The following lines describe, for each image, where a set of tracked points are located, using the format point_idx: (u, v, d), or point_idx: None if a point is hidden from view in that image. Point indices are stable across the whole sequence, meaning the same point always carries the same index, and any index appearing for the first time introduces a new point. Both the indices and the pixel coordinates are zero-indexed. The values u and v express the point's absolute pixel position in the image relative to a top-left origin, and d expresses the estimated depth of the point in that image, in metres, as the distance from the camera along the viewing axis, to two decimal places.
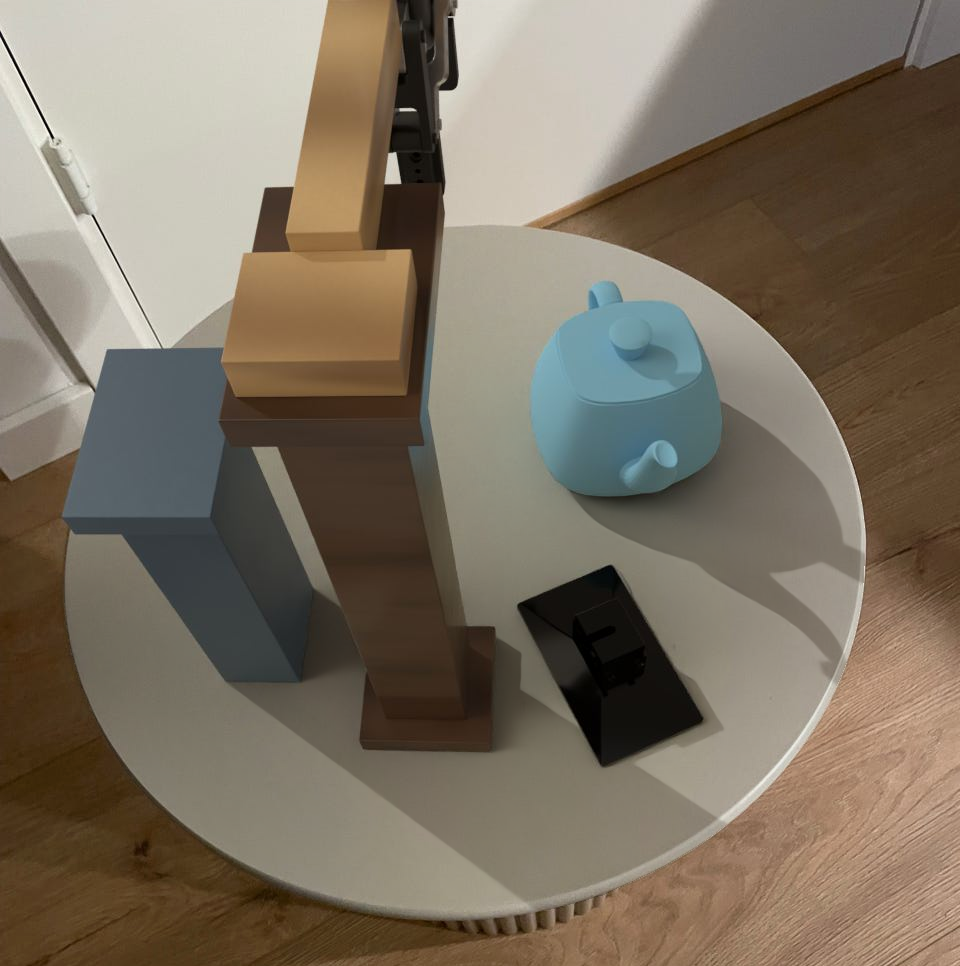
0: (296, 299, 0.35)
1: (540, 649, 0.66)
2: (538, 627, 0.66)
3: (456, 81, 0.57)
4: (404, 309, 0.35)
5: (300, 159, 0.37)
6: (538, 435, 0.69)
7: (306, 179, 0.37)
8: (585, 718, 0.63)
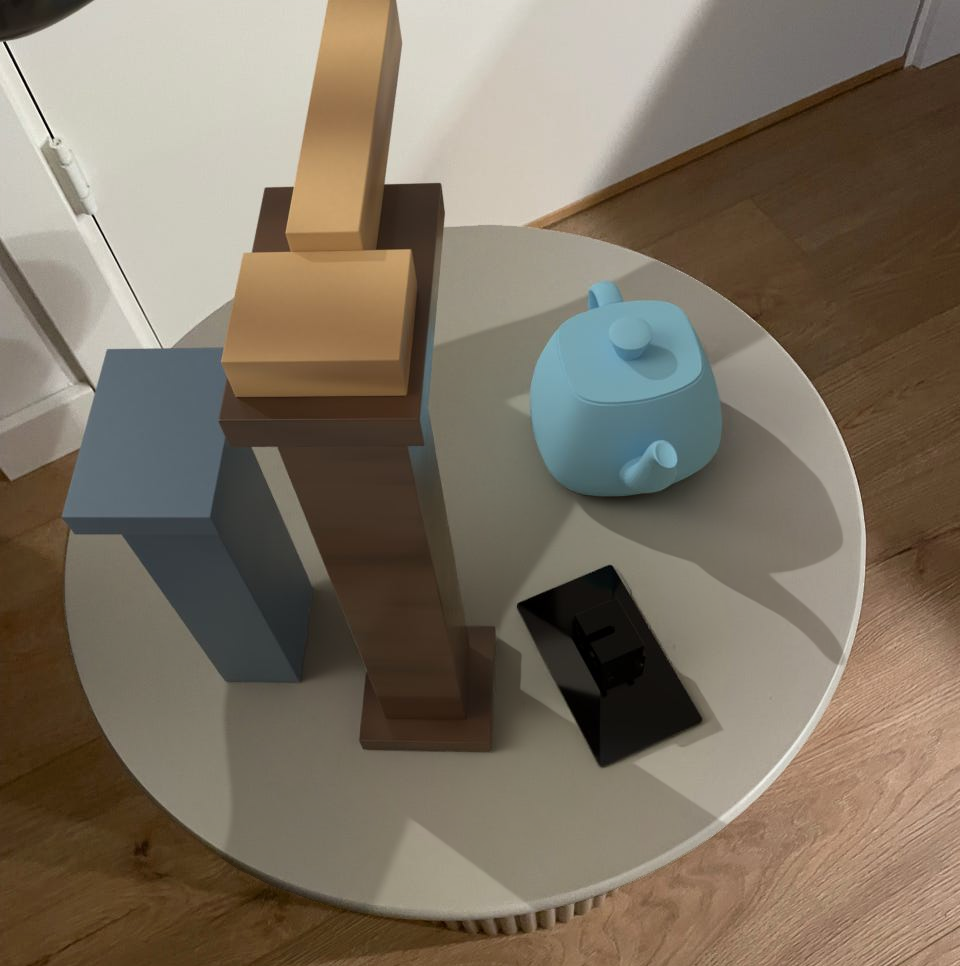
0: (296, 299, 0.35)
1: (539, 649, 0.66)
2: (537, 627, 0.66)
3: None
4: (404, 309, 0.35)
5: (300, 159, 0.37)
6: (538, 435, 0.69)
7: (306, 179, 0.37)
8: (584, 718, 0.63)
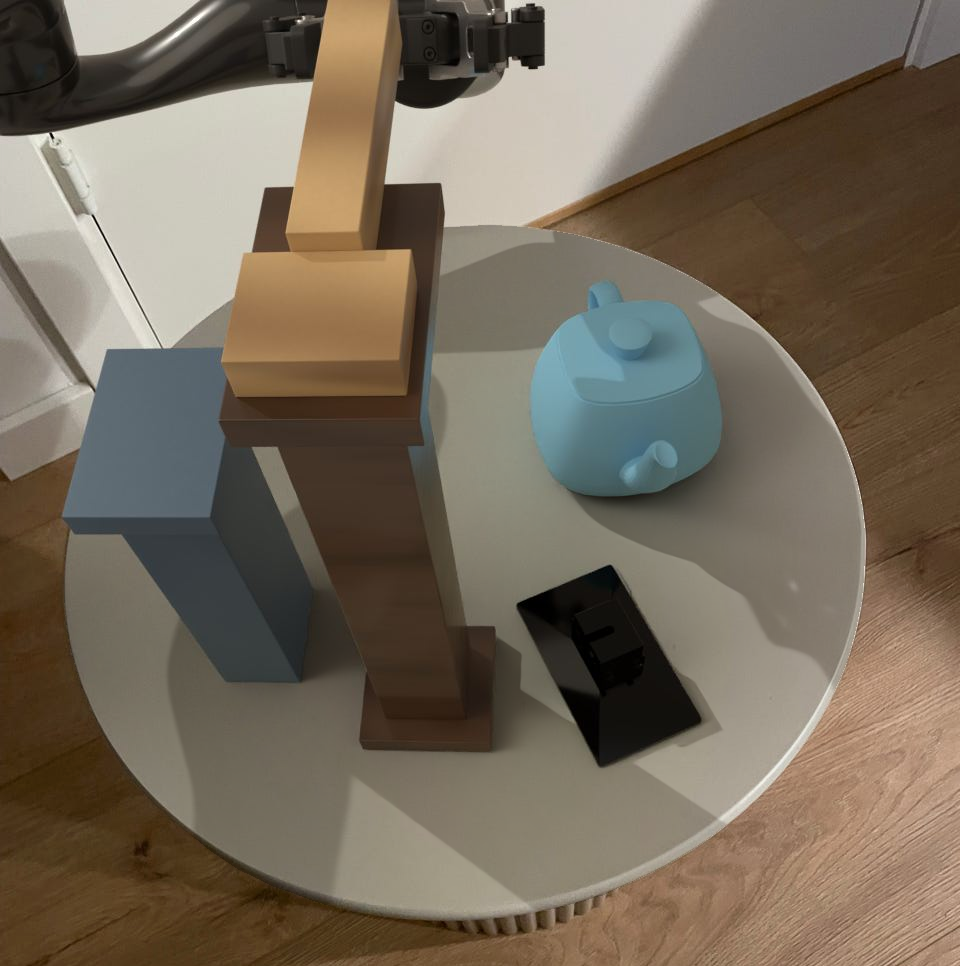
0: (296, 299, 0.35)
1: (539, 649, 0.66)
2: (537, 627, 0.66)
3: None
4: (404, 309, 0.35)
5: (300, 159, 0.37)
6: (538, 435, 0.69)
7: (306, 179, 0.37)
8: (583, 718, 0.63)
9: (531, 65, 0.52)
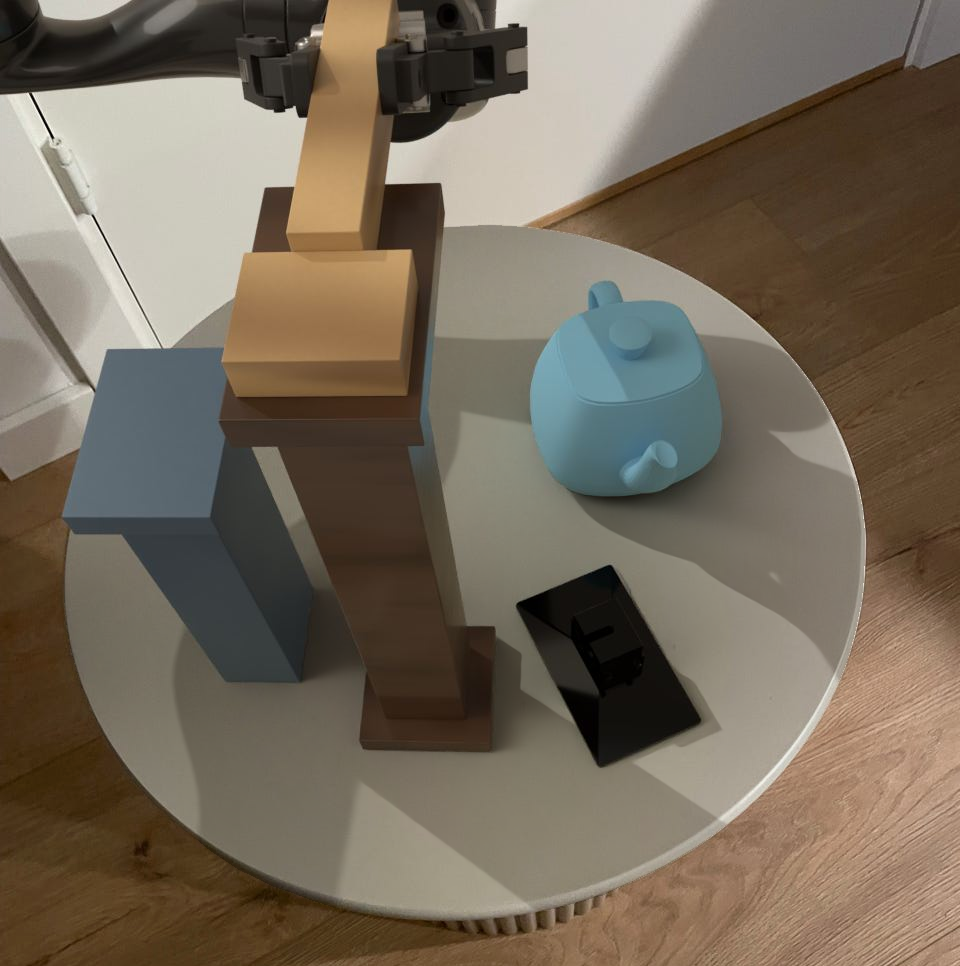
0: (297, 299, 0.35)
1: (538, 649, 0.66)
2: (536, 627, 0.66)
3: None
4: (405, 309, 0.35)
5: (301, 159, 0.37)
6: (538, 435, 0.69)
7: (307, 179, 0.37)
8: (583, 718, 0.63)
9: (451, 102, 0.43)
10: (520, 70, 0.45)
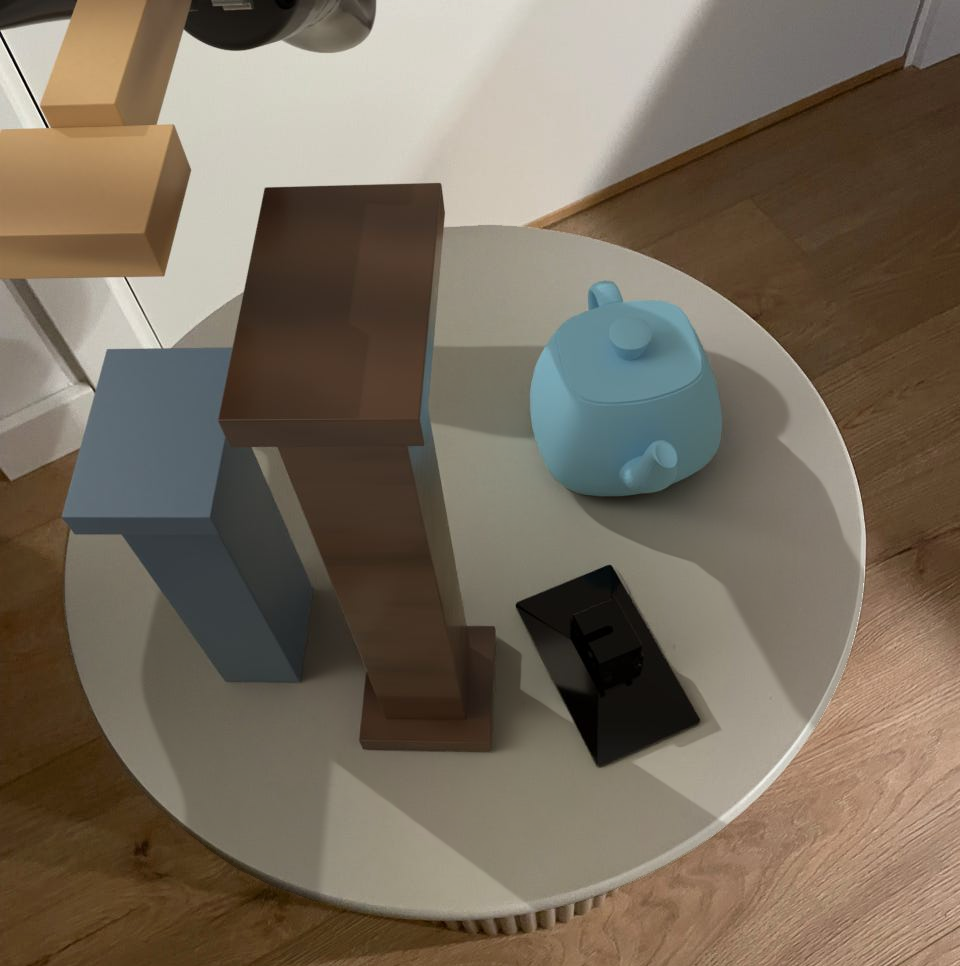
0: (48, 174, 0.33)
1: (538, 648, 0.66)
2: (536, 626, 0.66)
3: None
4: (157, 183, 0.33)
5: (66, 33, 0.35)
6: (538, 435, 0.69)
7: (70, 53, 0.35)
8: (582, 718, 0.63)
9: None
10: None
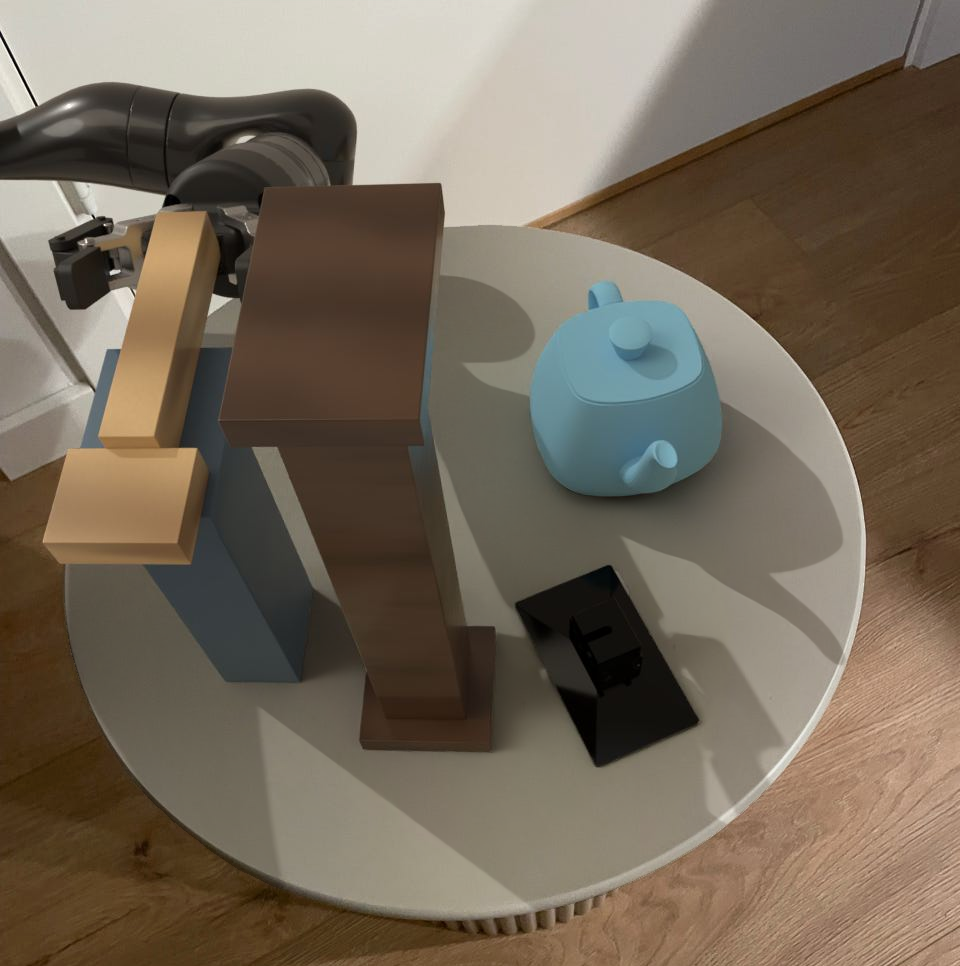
0: (105, 489, 0.45)
1: (537, 648, 0.66)
2: (535, 626, 0.66)
3: None
4: (186, 500, 0.45)
5: (116, 371, 0.47)
6: (538, 435, 0.69)
7: (119, 389, 0.47)
8: (581, 718, 0.63)
9: None
10: None
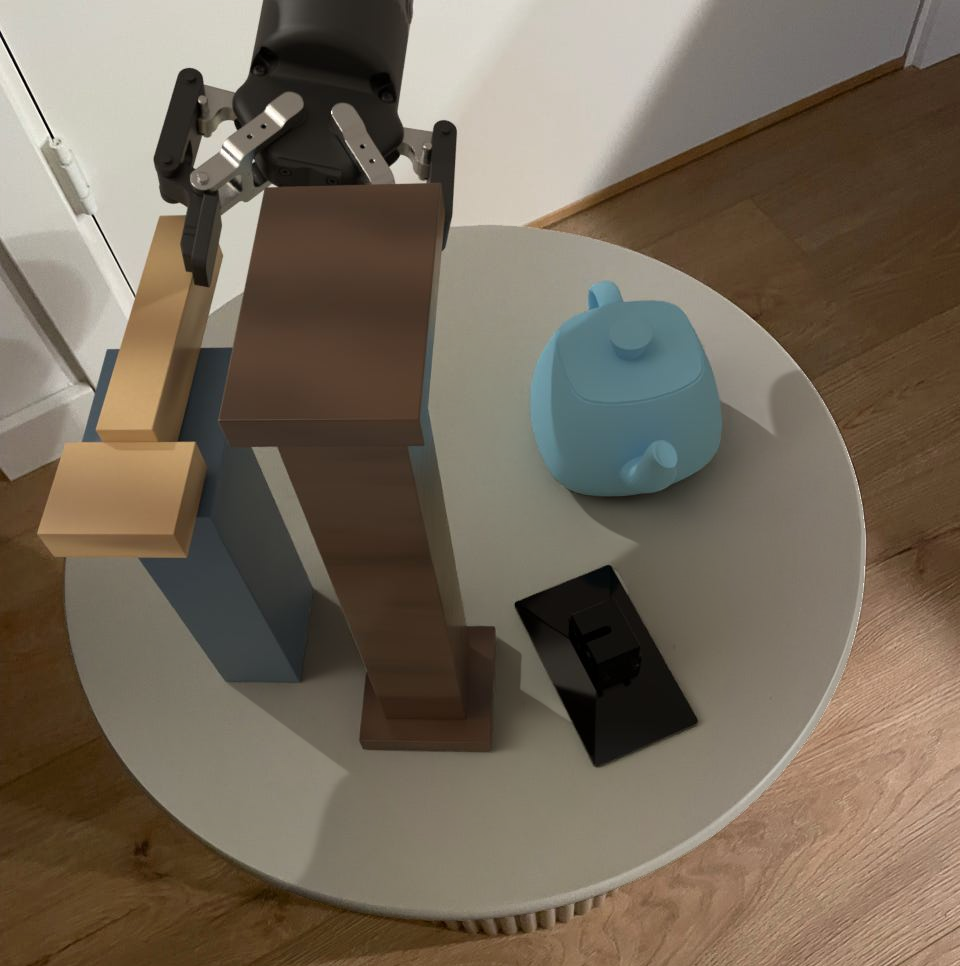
0: (101, 482, 0.45)
1: (536, 648, 0.66)
2: (534, 626, 0.66)
3: None
4: (183, 492, 0.44)
5: (115, 367, 0.47)
6: (538, 435, 0.69)
7: (118, 384, 0.46)
8: (580, 718, 0.63)
9: None
10: None
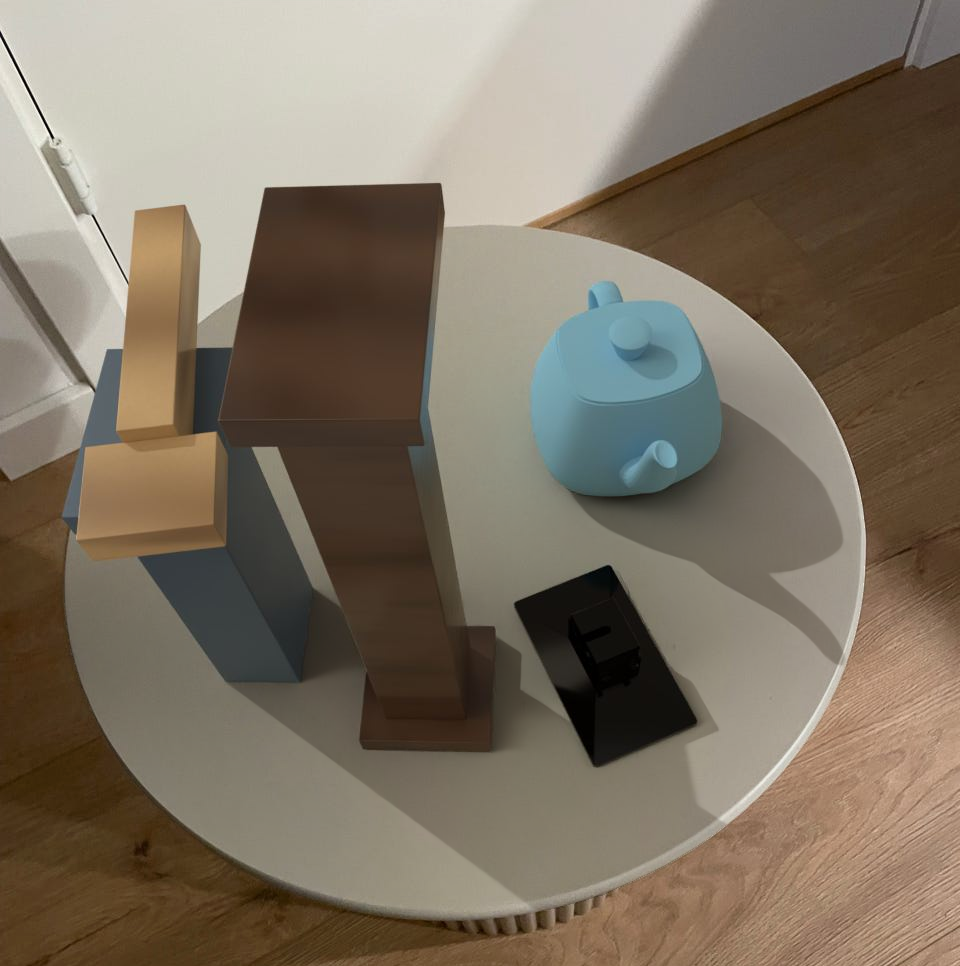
0: (130, 482, 0.45)
1: (536, 648, 0.66)
2: (534, 626, 0.66)
3: None
4: (214, 482, 0.45)
5: (122, 367, 0.47)
6: (538, 435, 0.69)
7: (129, 383, 0.47)
8: (579, 718, 0.63)
9: None
10: None
